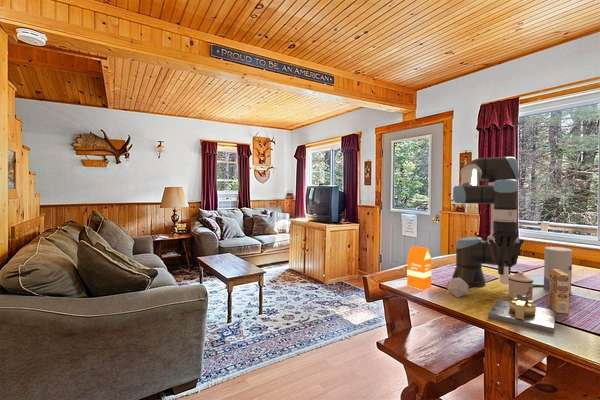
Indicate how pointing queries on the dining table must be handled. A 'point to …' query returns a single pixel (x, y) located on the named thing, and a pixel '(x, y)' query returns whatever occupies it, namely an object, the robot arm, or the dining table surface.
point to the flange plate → (539, 321)
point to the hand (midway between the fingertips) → (504, 282)
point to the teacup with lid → (520, 285)
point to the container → (557, 263)
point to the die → (458, 287)
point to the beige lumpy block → (522, 308)
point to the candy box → (559, 291)
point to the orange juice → (419, 268)
